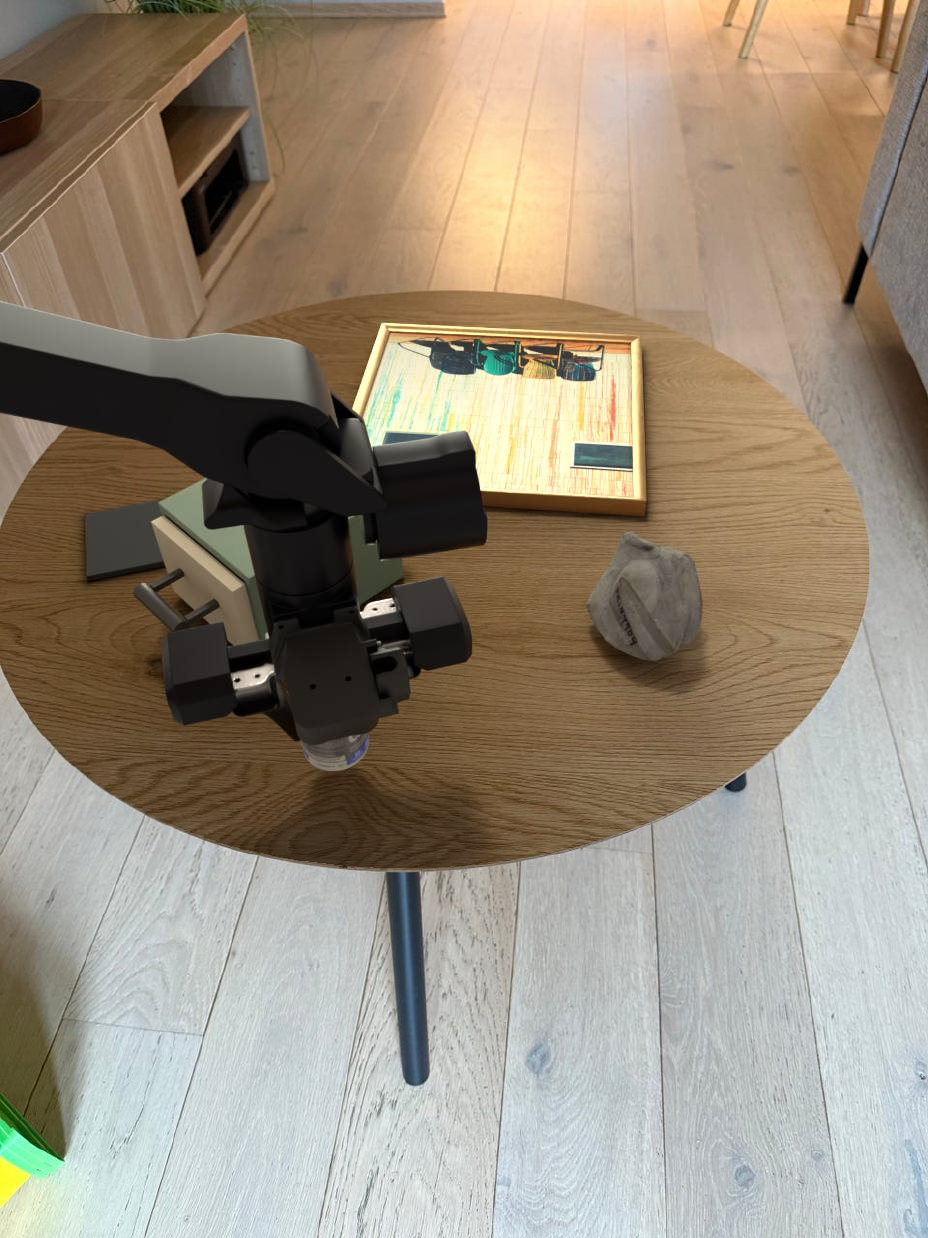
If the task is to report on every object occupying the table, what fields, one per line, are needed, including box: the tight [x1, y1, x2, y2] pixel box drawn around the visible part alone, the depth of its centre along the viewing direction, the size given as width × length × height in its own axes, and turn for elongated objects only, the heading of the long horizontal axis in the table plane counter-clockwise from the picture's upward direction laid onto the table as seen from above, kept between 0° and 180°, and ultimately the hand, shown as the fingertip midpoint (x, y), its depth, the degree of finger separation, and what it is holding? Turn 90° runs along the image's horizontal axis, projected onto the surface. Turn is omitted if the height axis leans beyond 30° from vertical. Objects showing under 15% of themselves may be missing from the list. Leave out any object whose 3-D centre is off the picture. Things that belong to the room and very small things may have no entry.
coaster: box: [84, 499, 166, 582], centre depth 87 cm, size 9×9×1 cm
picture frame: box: [351, 322, 648, 517], centre depth 100 cm, size 30×2×30 cm
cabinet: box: [158, 477, 404, 640], centre depth 80 cm, size 15×13×10 cm
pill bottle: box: [299, 732, 370, 772], centre depth 64 cm, size 5×5×8 cm
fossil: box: [586, 531, 704, 662], centre depth 76 cm, size 11×9×8 cm
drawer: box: [132, 515, 259, 646], centre depth 78 cm, size 18×11×8 cm, turn 134°
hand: (332, 727), depth 65 cm, fingers closed on pill bottle, 5 cm apart
